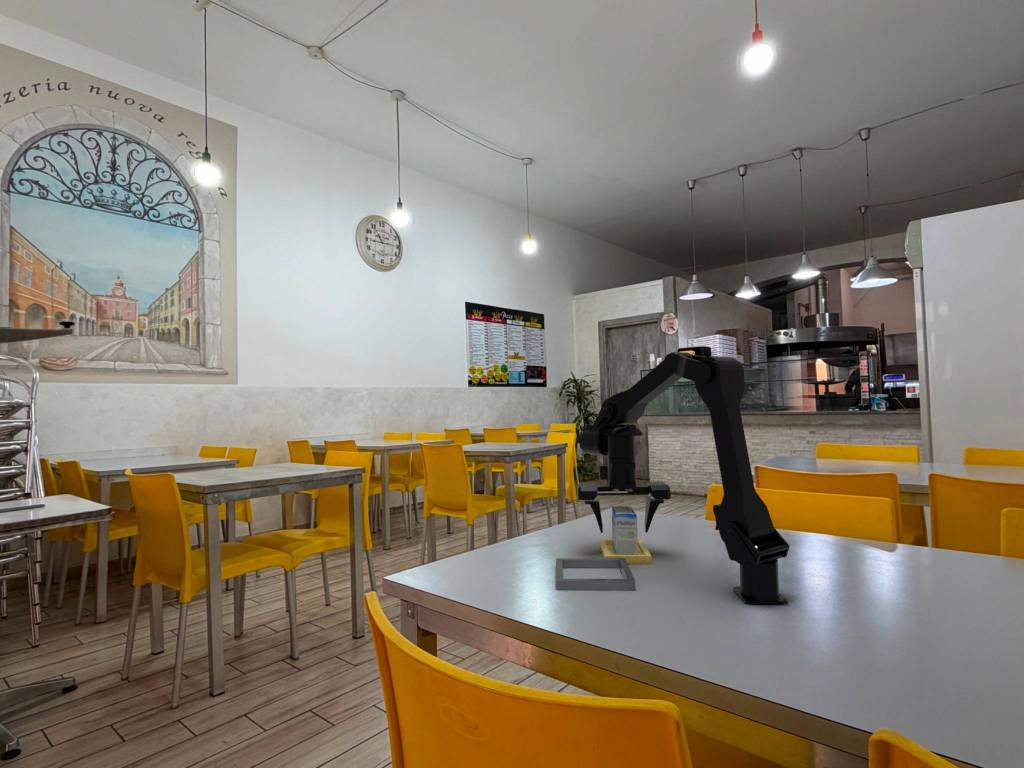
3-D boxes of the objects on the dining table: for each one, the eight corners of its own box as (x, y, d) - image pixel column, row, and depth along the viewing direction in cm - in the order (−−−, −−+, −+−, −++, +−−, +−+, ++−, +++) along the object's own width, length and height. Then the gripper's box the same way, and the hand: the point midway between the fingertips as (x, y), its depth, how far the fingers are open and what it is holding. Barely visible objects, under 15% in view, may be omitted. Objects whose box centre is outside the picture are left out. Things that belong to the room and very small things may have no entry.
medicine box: (612, 546, 118) (611, 506, 118) (633, 546, 118) (631, 505, 118) (616, 556, 110) (614, 513, 111) (638, 556, 110) (637, 513, 110)
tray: (651, 563, 107) (651, 556, 107) (605, 563, 108) (605, 556, 108) (641, 546, 120) (641, 539, 120) (600, 546, 121) (599, 539, 121)
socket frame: (635, 589, 93) (635, 581, 93) (556, 589, 94) (556, 580, 94) (625, 565, 106) (625, 558, 106) (556, 565, 107) (556, 558, 107)
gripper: (659, 452, 122) (661, 523, 121) (575, 454, 123) (577, 523, 123) (669, 458, 111) (672, 535, 110) (577, 459, 112) (579, 536, 112)
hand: (623, 532), depth 114 cm, fingers open, 9 cm apart
